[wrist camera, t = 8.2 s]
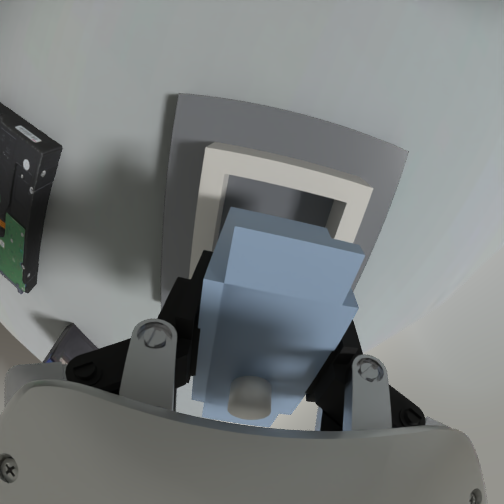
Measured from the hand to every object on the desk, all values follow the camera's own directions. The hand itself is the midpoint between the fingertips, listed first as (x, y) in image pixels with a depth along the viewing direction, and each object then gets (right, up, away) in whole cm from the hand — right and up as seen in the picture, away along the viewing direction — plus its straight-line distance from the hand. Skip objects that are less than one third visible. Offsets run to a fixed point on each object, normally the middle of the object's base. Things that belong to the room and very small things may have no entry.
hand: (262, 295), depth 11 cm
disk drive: (-21, +7, +5) cm, 23 cm away
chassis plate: (+1, +3, +5) cm, 6 cm away
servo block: (0, +1, +1) cm, 1 cm away
